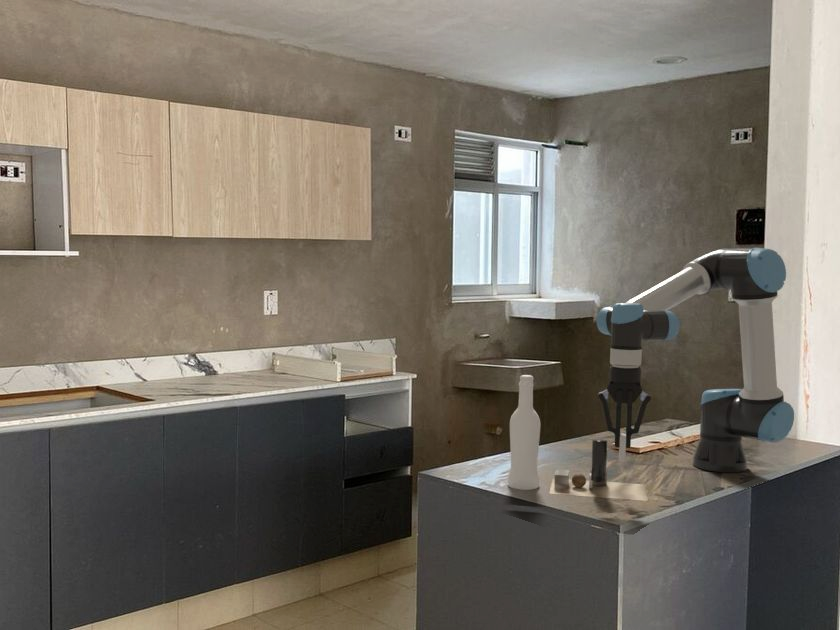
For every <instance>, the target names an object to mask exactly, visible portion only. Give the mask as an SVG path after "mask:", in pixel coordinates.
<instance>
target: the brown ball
mask: <svg viewBox="0 0 840 630" xmlns="http://www.w3.org/2000/svg"><path fill="white" fill-rule="evenodd" d="M571 479H572V483H573V485H574V486H575V487H578V488H581V487H583V486H584V485H585V484H586V480H587V478H586V477H585V475H584V474H582V473H575V474H574V475H573V476H572V478H571Z"/></svg>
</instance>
